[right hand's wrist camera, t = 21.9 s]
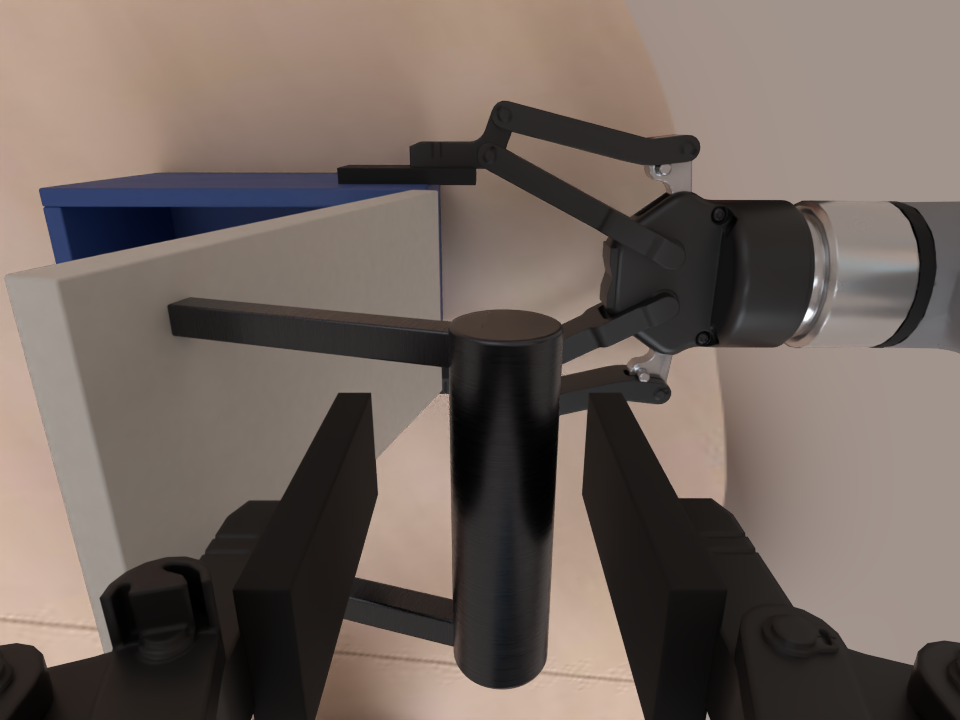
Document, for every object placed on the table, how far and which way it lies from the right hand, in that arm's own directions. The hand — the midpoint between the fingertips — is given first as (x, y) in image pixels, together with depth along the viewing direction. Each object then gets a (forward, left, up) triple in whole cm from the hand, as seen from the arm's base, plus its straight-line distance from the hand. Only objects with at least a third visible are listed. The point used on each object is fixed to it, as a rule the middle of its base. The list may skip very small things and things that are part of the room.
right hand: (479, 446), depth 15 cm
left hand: (0, -7, -19) cm, 20 cm away
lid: (0, -6, -6) cm, 8 cm away
